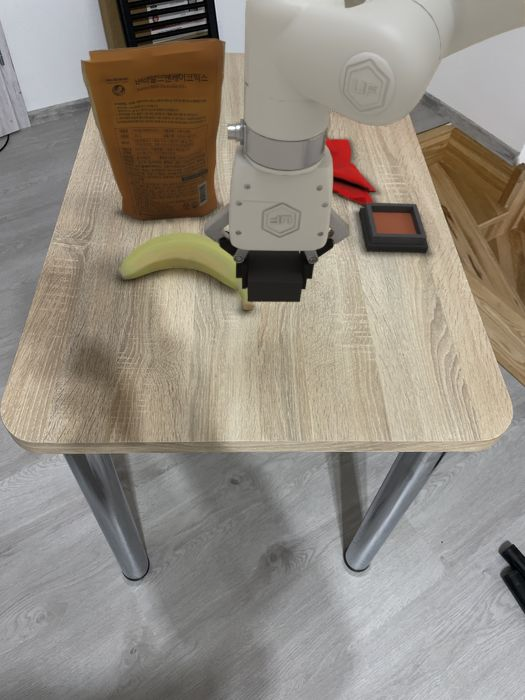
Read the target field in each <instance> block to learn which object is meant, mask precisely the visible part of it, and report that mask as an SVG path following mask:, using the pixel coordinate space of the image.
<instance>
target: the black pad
mask: <svg viewBox="0 0 525 700" xmlns="http://www.w3.org/2000/svg"><path fill="white" fill-rule="evenodd" d="M302 284H303V280H302V272H301V263H300V251H273V250H250V251H249V272H248V288H247V296H248V302H252V303H300V302H301V299H302V290H303V289H302Z"/></svg>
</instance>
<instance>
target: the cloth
mask: <svg viewBox="0 0 525 700" xmlns="http://www.w3.org/2000/svg"><path fill="white" fill-rule="evenodd" d="M326 146H327V147H328V149H329V151H330V154H331V156H332V162H333V190H332V193H335V194H338V195H340V196H342V197H344V198H346V199H349V200H351V201H354V202H356V203H359V204H361V205H364V206H365V204H366V202H368V203H375V202H374V200H373V198H372V196H371V195H370V193H369V192H376V189H375V188H374V187H373V185H372V184H370V182H369V181H368V180H367V179H366V178H365V177H364V175H362V173H361V172H360V170H359V169H358V168H357V166H356V165H355V164H354V163H352V162H351V158H352V150H351V145H350V141H349V139H341V138H339V139H338V138H332V139H330V138H329V137H328V136H327V138H326ZM367 189H368V190H367Z"/></svg>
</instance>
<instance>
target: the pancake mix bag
mask: <svg viewBox="0 0 525 700" xmlns="http://www.w3.org/2000/svg"><path fill="white" fill-rule="evenodd" d="M88 55H89V59H80V64H81V65H80V66H81V75H82V81H83V83H84V86H85V88H86V91H87V95H88V100H89V104H90V108H91V111H92V116H93V119H94V124H95V126H96V128H97V130H98V132H99V137H100V141H101V143H102V146H103V148H104V152H105V155H106V157H107V160H108V162H109V166H110V169H111V172H112V176H113V177H114V181H115V183H116V186H117V188H118V191H119V193H120V196H121V212H122V213H123V214H125V215H127V216H129V217H131V218H133V219H134V220H137V221H143V222H144V221H156V220H168V219H169V220H171V219H179V218H180V219H181V218H182V219H183V218H198V217H199V218H201V217H204V216H206V215H209V214H210V213H211V212H213V211H214V210H216V208H217V207H218V206H219V201H218V197H217V193H216V186H215V173H216V172H215V171H216V167H217V138H218V134H219V133H218V132H219V127H220V121H221V112H222V96H223V95H222V93H223V85H224V79H225V63H226V41H224V40H221V39H219V38H199V39H197V38H195V39H184V40H174V41H166V42H159V43H158V42H157V43H151V44H148V45H143V46H142V45H141V46H135V47H133V46H132V47H122V48H108V49H106V48H105V49H95V50H89V51H88Z"/></svg>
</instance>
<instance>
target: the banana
mask: <svg viewBox="0 0 525 700" xmlns="http://www.w3.org/2000/svg"><path fill="white" fill-rule="evenodd" d="M178 268H179V269H189V270H195V271H199V272H201V273H205V274H207V275H209V276H210V277H213V278H214V279H216V280H217V281H219V282H221V283H222V284H223V285H225V286H227V287H230V288H231V289H234V290H237V291H238V292H239V294H240V297H241V305H242V310H244V311H251V310H253V309H254V308H255V305H254V302H248V296H247V288H246V289H242V278H236V262H235V261H234V260H233V257H232V256H231V255H230V254H229V253H227V252H226V251H225V250H223V249H222V248H221V247H220V246H219V244H218V243H217V242H214V241H213V240H212V239H210V238H209V237H208V236H206V235H205V234H200V233H195V232H172V233H171V232H170V233H166V234H161V235H158V236H155V237H152V238H150V239H148V240H146V241H145V242H143V243H141V244H140V245H138V246H137V247H136V248H134V249H133V250H132V251H131V252H130V253H129V254H128V255H127V257H125V258H124V259H123V261H122V262H121V265H120V267H119V269H118V274H119V275H120V277H121V278H122V280H124V281H127V280H133V279H137V278H140V277H142V276H145V275H148V274H150V273H154V272H158V271H162V270H167V269H178Z"/></svg>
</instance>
